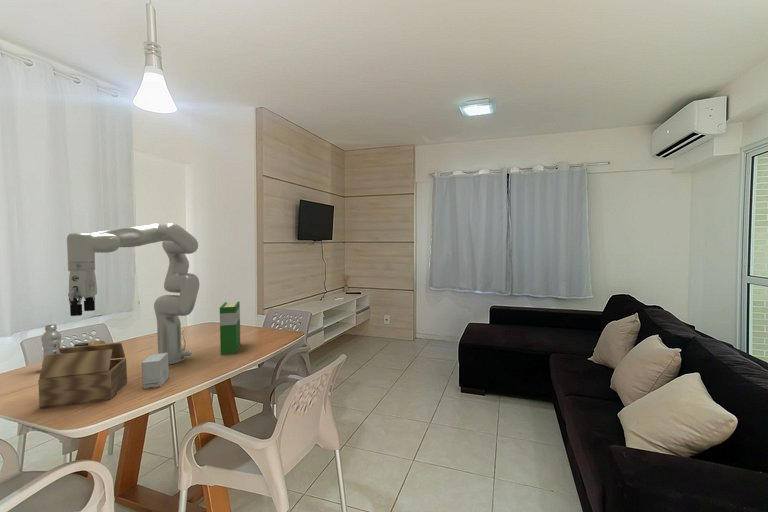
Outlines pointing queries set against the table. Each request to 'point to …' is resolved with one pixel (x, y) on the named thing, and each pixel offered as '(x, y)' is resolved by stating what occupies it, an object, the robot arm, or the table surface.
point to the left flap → (75, 363)
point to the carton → (83, 386)
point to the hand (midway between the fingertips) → (83, 313)
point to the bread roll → (96, 342)
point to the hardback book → (230, 328)
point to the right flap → (116, 349)
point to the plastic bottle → (51, 341)
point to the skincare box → (155, 370)
